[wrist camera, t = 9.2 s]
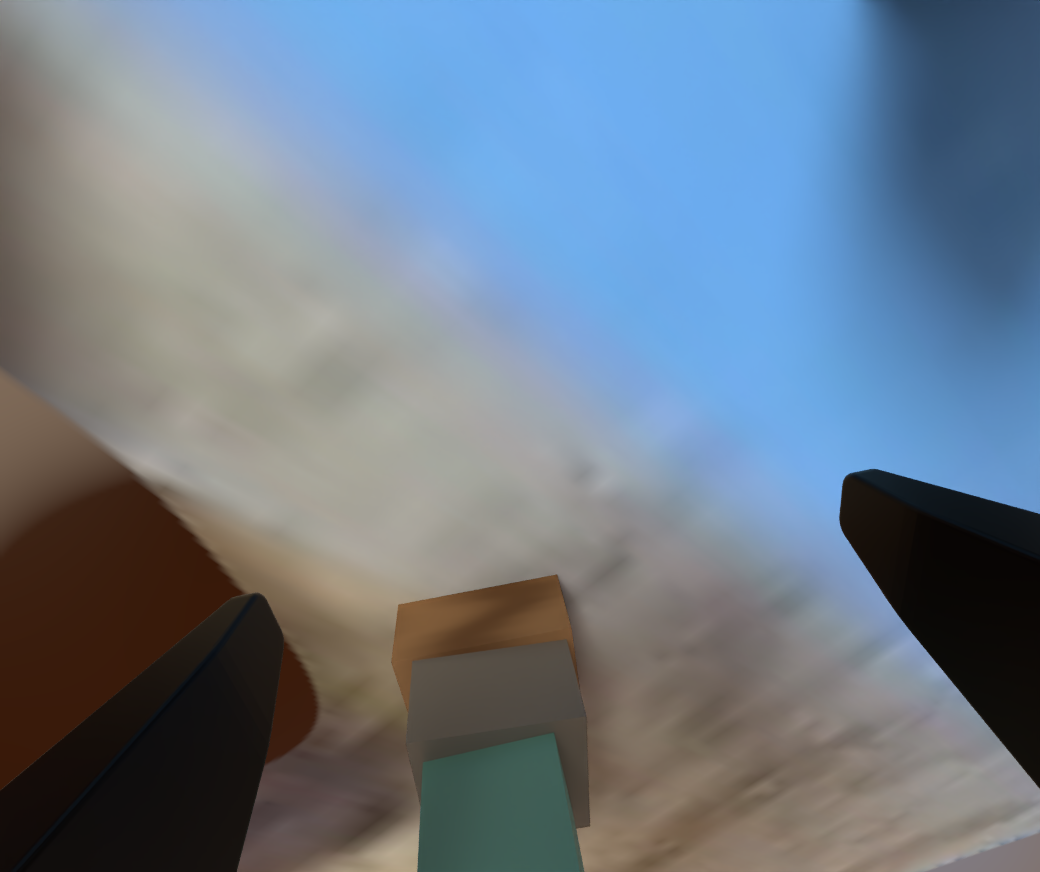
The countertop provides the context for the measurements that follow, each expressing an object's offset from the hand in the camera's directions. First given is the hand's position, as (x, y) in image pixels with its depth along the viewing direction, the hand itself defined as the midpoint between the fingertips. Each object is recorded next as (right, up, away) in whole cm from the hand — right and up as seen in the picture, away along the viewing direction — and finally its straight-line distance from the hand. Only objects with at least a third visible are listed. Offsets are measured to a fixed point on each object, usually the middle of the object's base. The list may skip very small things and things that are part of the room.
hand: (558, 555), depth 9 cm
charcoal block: (-2, -9, +14) cm, 17 cm away
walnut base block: (-2, -8, +18) cm, 19 cm away
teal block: (-1, -11, +11) cm, 16 cm away
